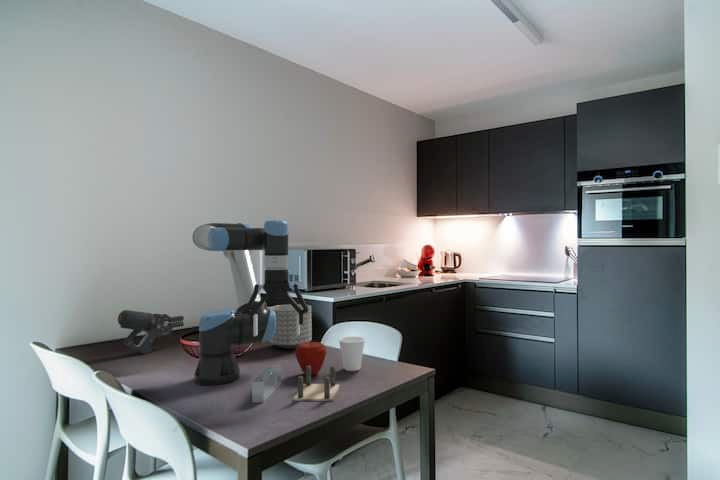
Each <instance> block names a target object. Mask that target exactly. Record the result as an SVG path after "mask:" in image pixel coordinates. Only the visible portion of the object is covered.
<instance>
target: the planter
mask: <svg viewBox="0 0 720 480" xmlns="http://www.w3.org/2000/svg"><path fill="white" fill-rule="evenodd" d="M297 304H298V303H297ZM298 305H299V307H300V308H301V309H303V308H302V306H301V304H300V303H299V304H298ZM307 306H308V308H309V311H308V312H307V313H304V314H303V324H300V335H299V336H297V318H296V315H297V314H299V313H298V312H297V311H296V310H295V309H294V308H293V306H292V305H291V304H290V303H289V304H280V305H279V304H278V305H273V306H270V307H269V308H268V310H269V309H273V310H274V312H275V315H276V329H275V334H274V336H273V338H272V339H271V340H269V343H271V344H273V345H276V346H277V347H279V348H281V349H285V350H294V349H295V350H296V348H297V347H298V346H299V345H300V344H301V343H304V342H311V341H312V340H313V339H312V338H313V336H312V335H313V332H312V331H313V327H312V326H313V325H312V324H313V323H312V319H313V318H312V305H309V304H307Z"/></svg>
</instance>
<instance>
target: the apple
mask: <svg viewBox="0 0 720 480" xmlns="http://www.w3.org/2000/svg"><path fill="white" fill-rule="evenodd" d="M294 353H295V358H296V360H297V362H298V365H299V367H300V369H301V371H302V373H304V374H305V375H306V366H311V376H316V375H317V374H318V373H320V371H321V369H322V367H323V365H324V362H325V358H326V355H327V347H326V346H325V345H324V344H323V343H322V342H320V341H318V342H317V341H312V340H311V341H310V342H304V343H301V344H300V345H299V346H298V347H297V348H295V352H294Z"/></svg>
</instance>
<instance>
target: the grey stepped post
mask: <svg viewBox="0 0 720 480" xmlns="http://www.w3.org/2000/svg"><path fill="white" fill-rule="evenodd" d="M281 384H282V365H280V364H279V365H278V364H277V365H276V364H275V365H273V364H271V365H270V364H269V365H268V366H267V367H266V368H265V369H264V370H263V371H262V372H261V373H260V374H259V375H258V376H257V377H256V378H255V379H253V381H251V386H252V387H251V389H252V390H251V393H252V394H251V396H252V398H251V400H252V403H265V402H266V401H267V400H268V398H269V397H270V396H271V395H272V394H273V393H274V392H275V390H276V389H278V388H279V387H280V385H281Z"/></svg>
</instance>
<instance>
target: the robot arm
mask: <svg viewBox="0 0 720 480" xmlns="http://www.w3.org/2000/svg"><path fill="white" fill-rule="evenodd" d="M263 225H264V226H263V227H252V226H251V225H250V224H248V223H242V222H238V223H228V222H227V223H223V222H222V223H220V222H219V223H218V222H210V223H204V224H202V225H200V226H197V227H196V228H195V230H194V231H193V232H192V241H193V244H194V245H195V247H197V248H198V249H200V250H203V251H209V252H223V256H224V257H225V258H226V259H228V261H229V265H230V270H231V275H232V279H233V284H234V289H235V294H236V299H237V304H238V306H237V308H236V310H234V309H232V308H226V309H217V310H213V311H209V312H207V313H204V314H203V315H201V316H200V318H199V323H198V333H199V334H198V336H199V337H198V339H199V344H198V345H199V346H198V348H199V358H198V362H197V365H196V368H195V371H194V374H193V375H194V376H193V378H194V380H193V381H194V383H195V384H198V385H203V386H216V385H223V384H227V383H231V382H234V381H236V380H238V379H239V378H240V377H241V370H240V367H239V363H238V360H237V357H236V355H235V347H237V346H245V345H252V344H262V343H265V342H270V340H271V339H272V338H273V336H274V334H275V329H276V315H275V312H274V310H273V309H269V308H268V305H267V303H266V301H267V299H268V298H271V299H276V298H277V299H281V298H284V299H285V300H287V302H288V303H289V304H291V305H292V306H293V308H294V309H295V310H296V311H297V312H298V313H299V314H297V315H296V318H297V336H299V335H300V324H303V314H304V313H307V312H308V311H309V308H308V306H307V305H308V304H307V303H306V301H305V298H304V297H303V295H302V293H301V291H300V287H299V283H297V282H295V283H292V284H290V282H289V269H287V268H289V228H288V227H289V226H288V222H287V221H286V220H267V221H264V224H263ZM253 251H263V252H264V253H263V254H264V256H263V258H264V259H263V260H264V262H263V263H264V283H263V284H260V283H258V280H257V276H256V272H255V268H254V265H253V261H252V256H251V254H252V253H253ZM262 289H263V290H264V292H265V294H264V295H263V296H261V293H260V291H262ZM290 289H291V291H293V292H294V293H295V295H296V298H297V299H298V302H299V304H301V306H302V308H303V309H301V308H300V307H299V305H298V303H297V302H296V301H295V299H294V298H293V297H292V296H291V294H290V293H289V290H290Z"/></svg>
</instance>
